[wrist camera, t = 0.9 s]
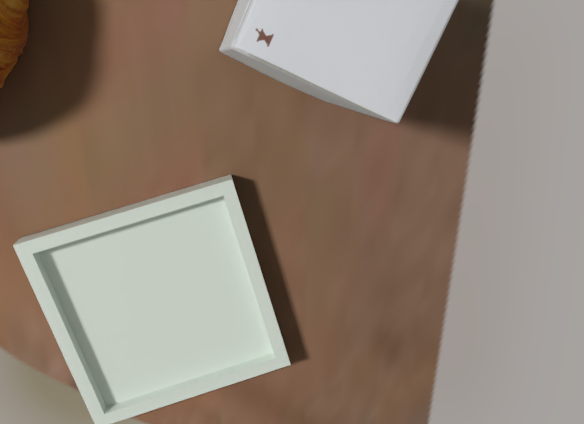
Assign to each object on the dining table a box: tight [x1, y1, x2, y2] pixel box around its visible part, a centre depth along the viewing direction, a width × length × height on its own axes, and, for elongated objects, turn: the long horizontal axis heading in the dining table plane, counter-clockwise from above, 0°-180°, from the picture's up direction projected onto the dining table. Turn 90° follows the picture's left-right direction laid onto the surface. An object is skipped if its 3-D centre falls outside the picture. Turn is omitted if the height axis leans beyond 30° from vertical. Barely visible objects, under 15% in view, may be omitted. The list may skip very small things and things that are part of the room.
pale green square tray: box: [13, 175, 291, 424], centre depth 35 cm, size 13×13×1 cm
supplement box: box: [220, 0, 459, 123], centre depth 26 cm, size 7×7×13 cm
